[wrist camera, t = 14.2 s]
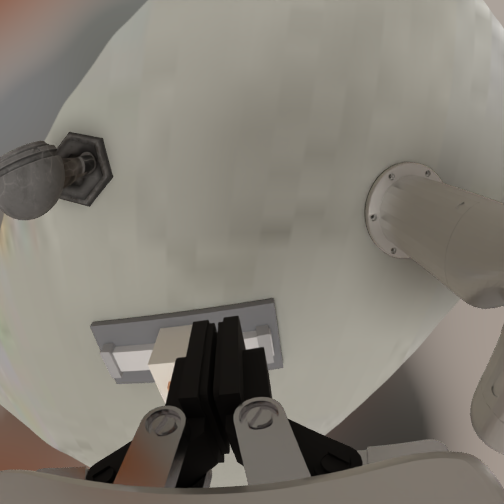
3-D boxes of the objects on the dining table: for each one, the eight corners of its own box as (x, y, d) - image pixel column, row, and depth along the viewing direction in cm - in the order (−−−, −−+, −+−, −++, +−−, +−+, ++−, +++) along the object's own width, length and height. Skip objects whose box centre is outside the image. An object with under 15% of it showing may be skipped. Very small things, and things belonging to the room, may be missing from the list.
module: (196, 324, 41) (187, 367, 33) (209, 369, 44) (205, 415, 35) (160, 328, 41) (145, 371, 33) (176, 372, 44) (167, 417, 35)
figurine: (98, 119, 33) (26, 116, 19) (118, 196, 36) (57, 233, 22) (43, 144, 33) (-35, 157, 19) (63, 215, 36) (-6, 257, 22)
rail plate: (273, 298, 41) (276, 311, 38) (282, 362, 45) (285, 377, 42) (92, 322, 42) (84, 334, 39) (118, 378, 46) (113, 393, 42)
